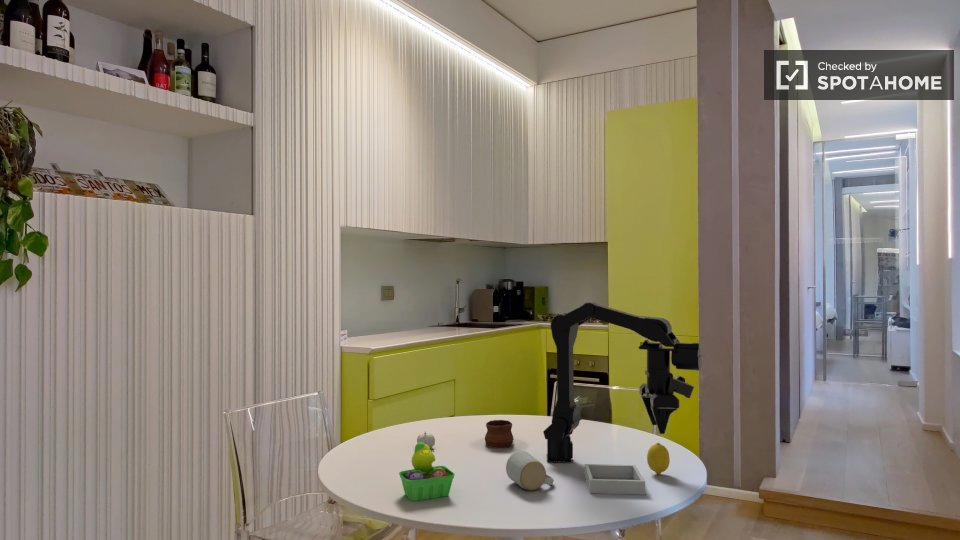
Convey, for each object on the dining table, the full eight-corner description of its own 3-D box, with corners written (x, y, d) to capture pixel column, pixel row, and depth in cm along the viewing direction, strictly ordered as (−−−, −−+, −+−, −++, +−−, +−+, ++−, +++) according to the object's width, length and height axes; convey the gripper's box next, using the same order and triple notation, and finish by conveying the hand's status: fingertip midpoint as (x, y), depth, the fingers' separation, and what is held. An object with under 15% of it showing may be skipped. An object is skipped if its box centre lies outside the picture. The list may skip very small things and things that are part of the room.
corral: (589, 493, 144) (589, 480, 145) (584, 475, 157) (584, 463, 157) (645, 494, 144) (645, 481, 144) (635, 477, 156) (635, 465, 156)
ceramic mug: (520, 494, 144) (521, 460, 144) (505, 483, 151) (505, 451, 151) (560, 489, 148) (561, 456, 148) (543, 478, 155) (544, 447, 156)
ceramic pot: (541, 446, 184) (540, 423, 184) (493, 458, 174) (493, 432, 174) (503, 435, 199) (503, 413, 199) (457, 445, 188) (456, 421, 189)
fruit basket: (407, 504, 137) (407, 452, 137) (396, 491, 145) (396, 442, 145) (455, 497, 142) (456, 447, 142) (442, 485, 150) (442, 438, 150)
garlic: (429, 452, 178) (429, 433, 178) (412, 450, 180) (412, 432, 180) (438, 447, 184) (438, 429, 184) (422, 445, 186) (422, 427, 186)
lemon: (670, 478, 155) (670, 446, 155) (647, 477, 156) (647, 445, 156) (668, 471, 161) (668, 440, 161) (646, 470, 162) (646, 439, 162)
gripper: (701, 373, 149) (701, 439, 149) (681, 363, 168) (681, 421, 167) (653, 373, 150) (653, 438, 150) (639, 362, 168) (638, 420, 168)
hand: (658, 429), depth 159 cm, fingers open, 9 cm apart
